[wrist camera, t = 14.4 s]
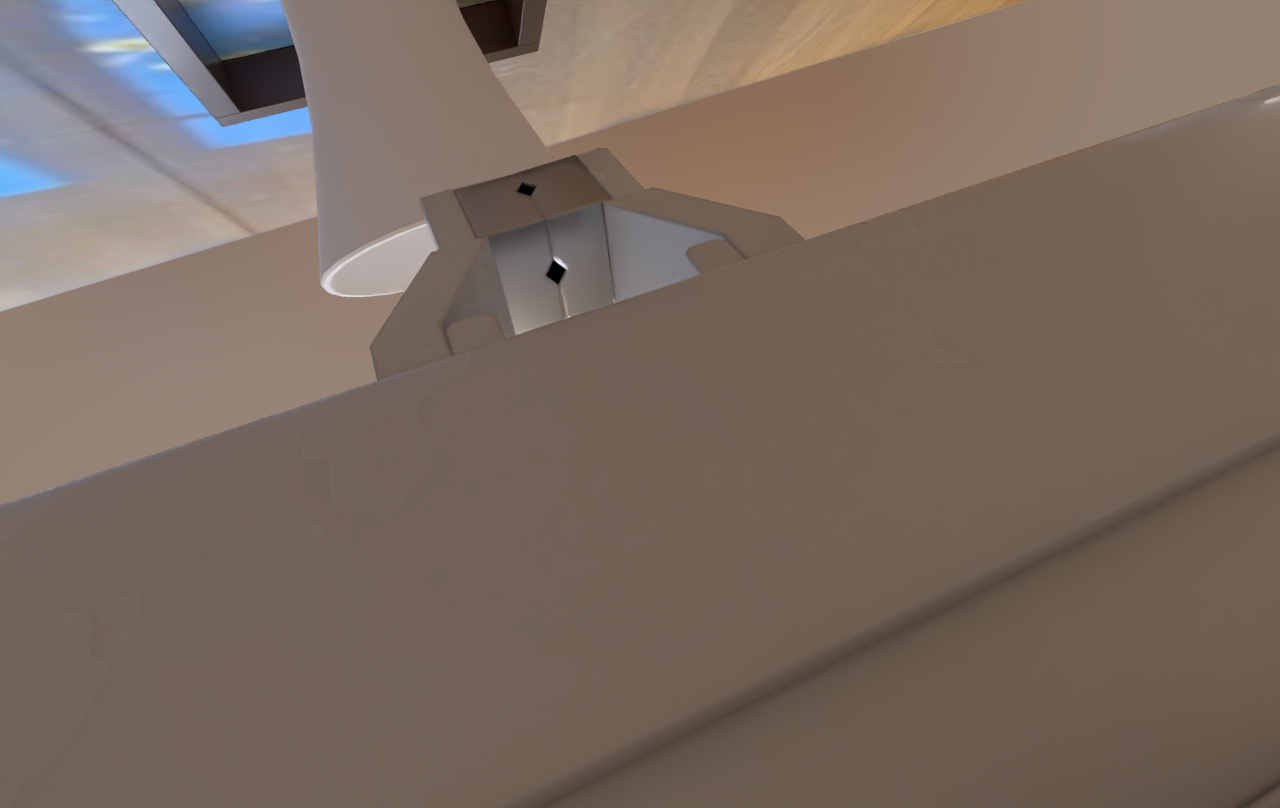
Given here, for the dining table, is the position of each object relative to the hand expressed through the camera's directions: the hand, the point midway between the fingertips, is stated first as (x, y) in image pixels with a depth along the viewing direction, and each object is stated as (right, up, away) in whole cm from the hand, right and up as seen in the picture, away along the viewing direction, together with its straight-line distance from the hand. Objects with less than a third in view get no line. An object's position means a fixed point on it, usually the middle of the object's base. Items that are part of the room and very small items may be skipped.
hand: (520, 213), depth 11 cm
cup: (-10, +16, +15) cm, 24 cm away
